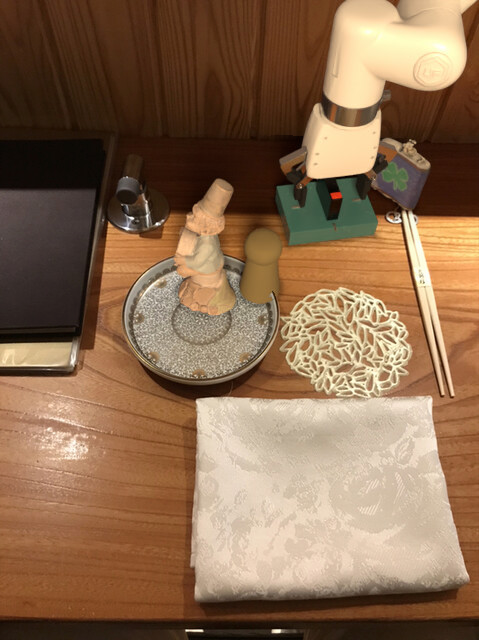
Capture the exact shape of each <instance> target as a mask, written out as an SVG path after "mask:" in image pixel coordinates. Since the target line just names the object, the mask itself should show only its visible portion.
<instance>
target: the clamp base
mask: <svg viewBox="0 0 479 640" xmlns="http://www.w3.org/2000/svg"><path fill="white" fill-rule="evenodd" d="M357 178H358V176H357V177H356V176H355V177H348V178H340V179H339V178H338V179H336V181H337V184H338V187H339V190H340V192H341V195H342V198H343V201H342V205H341V209H340V213H339V216H338V219H337V220H328V221H327V220H326V217H325V214H324V211H323V208H322V205H321V202H320V199H319V196H318V193H317V190H316V185H317V180H318V179H316V181H310V182H309V183H308V184H307V185H306V186H307V196H306V203H305V206H304V207H302V208H300V206H299V203H298V200H295V199H294V196H293V190H294V183H292V184H285V185H277V186H276V189H275V198H274V200H275V204H276V207H277V211H278V214H279V218H280V221H281V225H282V228H283V232H284V235H285V238H286V241H287V245H288V246H289V247H290V246H297V245H304V244H305V245H306V244H313V243H314V244H315V243H321V242H322V243H323V242H329V241H338V240H347V239H352V238H353V239H354V238H355V239H356V238H363V237H370V236H375V234H376V230H377V227H378V225H379V220H378V218H377V215H376V213H375V211H374V208H373V206H372V203H371V201H370V199H369V195H367V196H366V199H365V200H361V199H360V197H359V195H358V192H357V190H356V182H357Z"/></svg>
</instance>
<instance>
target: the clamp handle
mask: <svg viewBox="0 0 479 640" xmlns="http://www.w3.org/2000/svg"><path fill="white" fill-rule="evenodd" d="M336 180H337V179H336V177H330V178H319V179H318V180H317V179H316V182H317V185H316V190H317V193H318V196H319V199H320V202H321V205H322V208H323V211H324V214H325V217H326V220H327V221H328V220H337V219H338V216H339V213H340V209H341V205H342V201H343V198H342V195H341V192H340V190H339V187H338V184H337V181H336Z"/></svg>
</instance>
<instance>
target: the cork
mask: <svg viewBox="0 0 479 640" xmlns="http://www.w3.org/2000/svg"><path fill="white" fill-rule="evenodd" d="M283 248H284V245H283V241H282V238H281V236H280V235H279V234H278V233H277V232H275V231H274V230H273V229H270V228H265V227H264V228H263V227H262V228H261V227H260V228H257V229H254V230H252V231H250V233H248V234H247V236H246V238H245V239H244V244H243V251H244V254H245V256H246V259H245V262H244V266H243V270H242V274H241V277H240V281H239V285H238V287H239V292H240V294H241V296H242V297H243V298H244V299H245V300H247V301H248V302H250V303H253V304H258V305H260V304H267V303H270V302H272V301H273V300H272V297H269V295H270V294H271V293H272V291H273V292H274V293H275V296H276V297H278V295H279V293H280V289H281V285H280V272H279V271H280V270H279V259H280V257H281V255H282V254H283ZM268 297H269V298H268Z"/></svg>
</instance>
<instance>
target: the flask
mask: <svg viewBox="0 0 479 640" xmlns="http://www.w3.org/2000/svg"><path fill="white" fill-rule="evenodd" d="M381 141H383V142H386V143H388V144H391V145H394V146H395V148H396V150H397V152H398V153H397V155H396V156H395V157H394V158H393V159H392V160H391V162H389V163H388V166H387V167H386V168H385V169H384V170H382V171H381V172H380V173H378V174H377V178H376V179H374V180H372V184H371V188H373V190H377V191H378V192H379V193H381V194H382V195H383V196H384V197H385V198H388V199H391V200H392V202H395V203H397V204H398V206H399V207H401V208H402V209H403V210H406V211H413V210H414V209H415V208H416V206H417V204H418V202H419V199H420V198H421V197H420V196H421V194H422V191H423V188H424V186H425V183H426V181H427V179H428V176H429V174H430V171H431V166H432V165H431V163H430V162H429V161H428V160H427V159H426V158H425V157H423V156H422V155H421V154H420V153H418V152H417V149H416V148H415V147H414V145H416V144H417V141H416V140H415V139H413V140H412V139H409V141H407V142H406V143H405V142H404V143H402V142H399V141H397V140H395V139H393V138H391V137H385V138H383V139H381ZM380 155H382V154H380V153H377V156H376V158H377V157H379V156H380ZM408 205H409V206H408Z"/></svg>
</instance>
